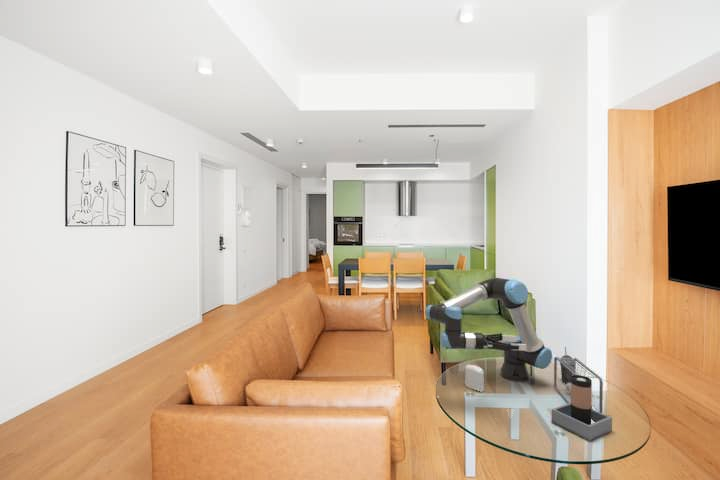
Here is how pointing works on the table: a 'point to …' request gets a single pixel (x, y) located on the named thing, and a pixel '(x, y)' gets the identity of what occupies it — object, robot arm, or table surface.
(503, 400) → the table surface
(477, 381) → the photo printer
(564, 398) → the newton's cradle
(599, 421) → the crate
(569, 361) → the beverage cup
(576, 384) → the travel mug
